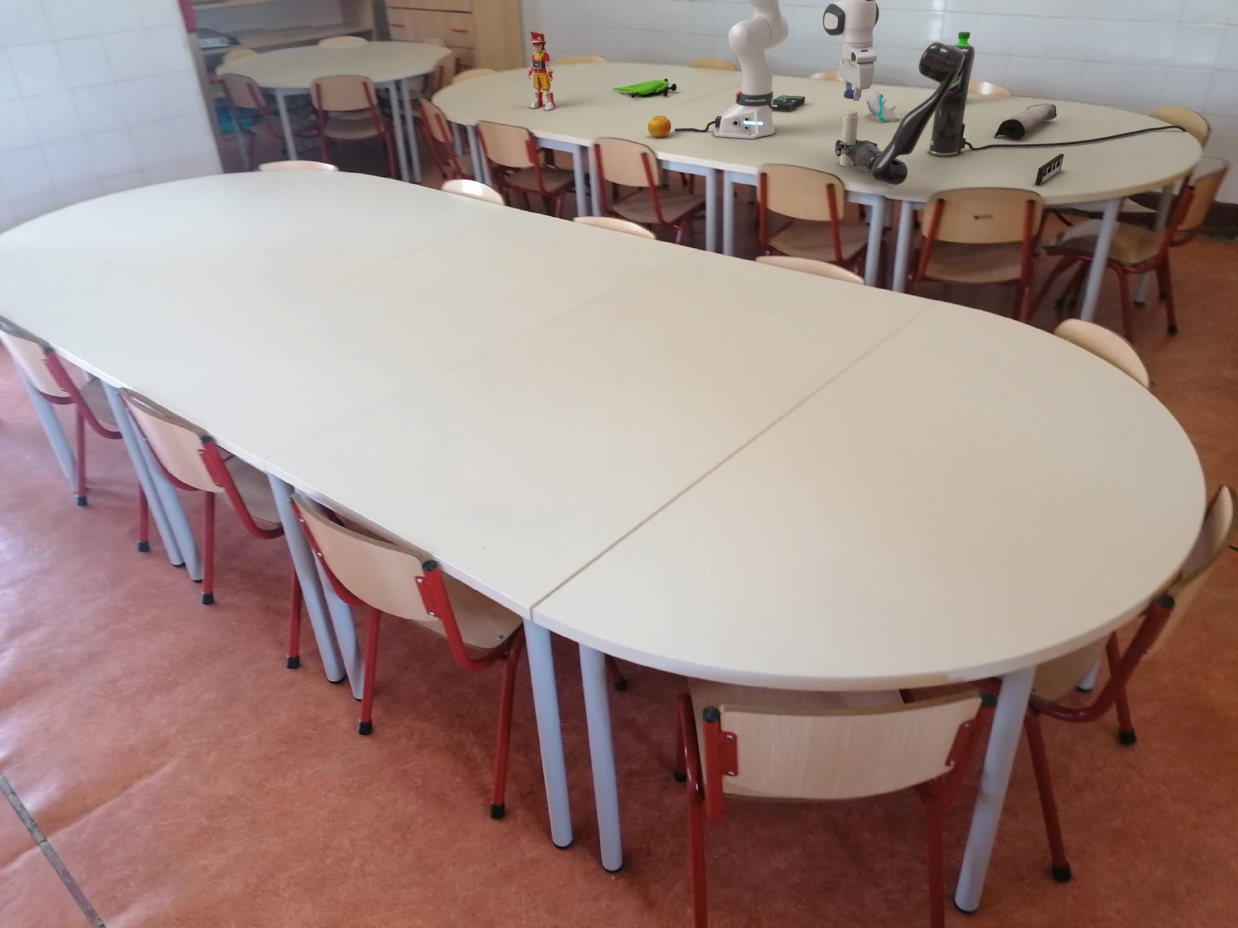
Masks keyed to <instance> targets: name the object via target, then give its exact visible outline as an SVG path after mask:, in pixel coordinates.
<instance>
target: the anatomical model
mask: <svg viewBox="0 0 1238 928" xmlns="http://www.w3.org/2000/svg"><path fill="white" fill-rule="evenodd" d="M865 101H866V104H867V108H868V110H869V112H870V113H872V114H876V115H877V118H878V119H879V121H880V122H881V123H884V122H888V121H892V120H893V121H894V120H895V121H898V120H900V119H901V116H900V115H895V113H894V111H895V109H896V108H897V105H893V106H890V107H885V104H886V103H887V101H888V99H887V98H886V99H884V94H883V93H881V92H880V91H878V90H876V91H875V92H874V94H873V95H872V96H869V97H867V98H866V100H865Z"/></svg>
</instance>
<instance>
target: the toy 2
mask: <svg viewBox="0 0 1238 928" xmlns="http://www.w3.org/2000/svg"><path fill="white" fill-rule="evenodd" d="M669 85H670V83H669V79H668V78H664V79H663V80H649V81H644V82H640V83H634V84H629V85H627V86H621V87H613V88H612V89H613V90H616V91H619V92H623V93H627V94H628V93H629V94H631V95H630V96H631V98H632V99H634V98H636V96H637V95H650V94H652V93H654V94H658V93H662V95H663V96H665V97H667V96H668V95H669V90H671V91H672V92H676V91H677V84H676V83H672V84H671V86H669Z"/></svg>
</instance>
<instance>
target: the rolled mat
mask: <svg viewBox="0 0 1238 928" xmlns="http://www.w3.org/2000/svg"><path fill="white" fill-rule="evenodd" d="M1057 116H1058V114H1057V106H1056V104H1055V103H1039V104H1033V105H1030V106H1028V107H1027V108H1026V109H1025V110H1023V111H1021V112H1019V113H1017V114H1015V115H1013V116H1011V117H1009V118H1007V119H1005V120H1003V121H1002V122H1001V123H1000V124H999V126H998V128H997V130H996V132H995V133H994V136H993V137H994V138H998V137H999V136H1004V137H1005V138H1006V137H1007V139H1008V140H1015V141H1021V140H1023V138H1025V137H1026V136H1027V135H1028V134H1029V133H1030V132H1031V131H1032V130H1033V129H1034V128H1036V127H1037V126H1038V125H1039V124H1041V123H1042V122H1044V121H1045V122H1046V121H1051V120H1054V119H1055V118H1057Z"/></svg>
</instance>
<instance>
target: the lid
mask: <svg viewBox="0 0 1238 928" xmlns="http://www.w3.org/2000/svg"><path fill="white" fill-rule="evenodd" d="M854 92H855V89H852V90H847V91H846V90H845V91H844V92H843V98H844V99H846V100H847V99H848V100H853V94H854ZM860 98H862V93H861V94H860Z"/></svg>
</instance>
